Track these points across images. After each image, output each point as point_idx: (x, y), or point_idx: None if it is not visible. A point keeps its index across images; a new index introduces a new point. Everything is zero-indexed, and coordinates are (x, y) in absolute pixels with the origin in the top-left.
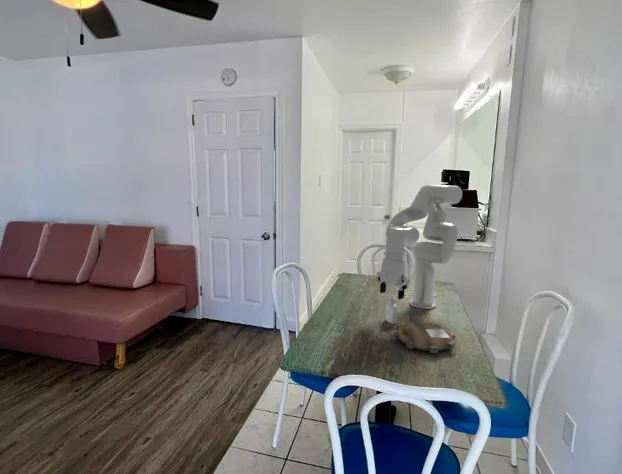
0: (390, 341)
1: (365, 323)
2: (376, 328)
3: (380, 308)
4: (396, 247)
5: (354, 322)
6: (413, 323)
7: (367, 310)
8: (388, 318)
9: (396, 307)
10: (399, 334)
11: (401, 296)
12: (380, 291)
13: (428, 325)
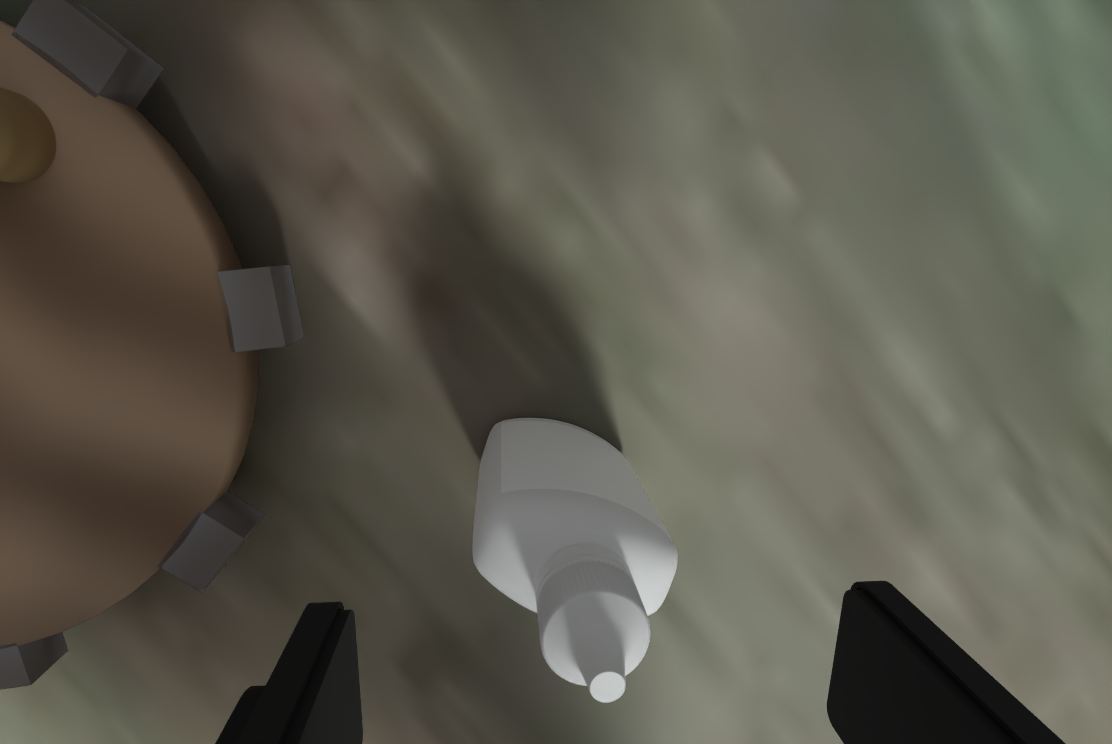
0: (190, 25)
1: (708, 187)
2: (536, 183)
3: None
4: None
5: (812, 100)
6: (192, 493)
7: (913, 484)
8: (562, 433)
9: (475, 553)
10: (20, 41)
11: (247, 694)
12: (891, 597)
13: (43, 591)
